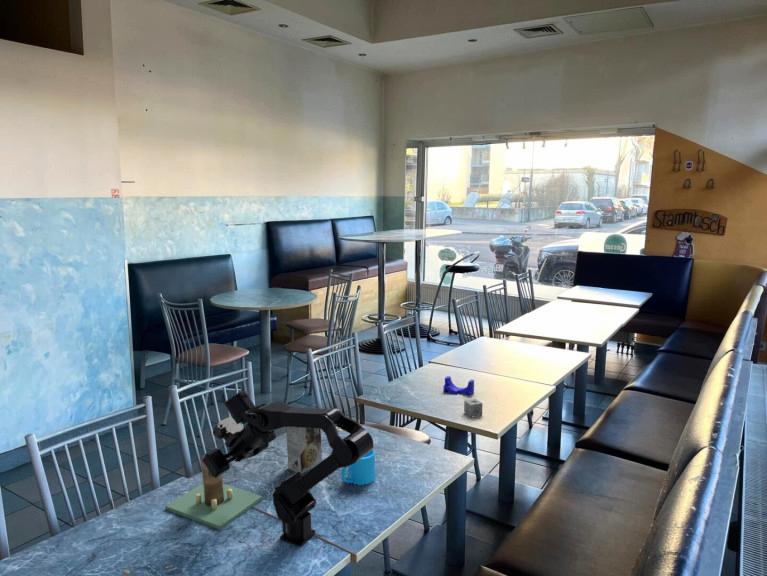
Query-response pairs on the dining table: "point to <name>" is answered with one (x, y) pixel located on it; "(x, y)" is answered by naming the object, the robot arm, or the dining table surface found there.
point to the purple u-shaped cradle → (451, 388)
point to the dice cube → (473, 407)
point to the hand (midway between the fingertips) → (222, 467)
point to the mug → (361, 470)
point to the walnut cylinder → (212, 486)
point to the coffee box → (303, 448)
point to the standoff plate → (214, 506)
